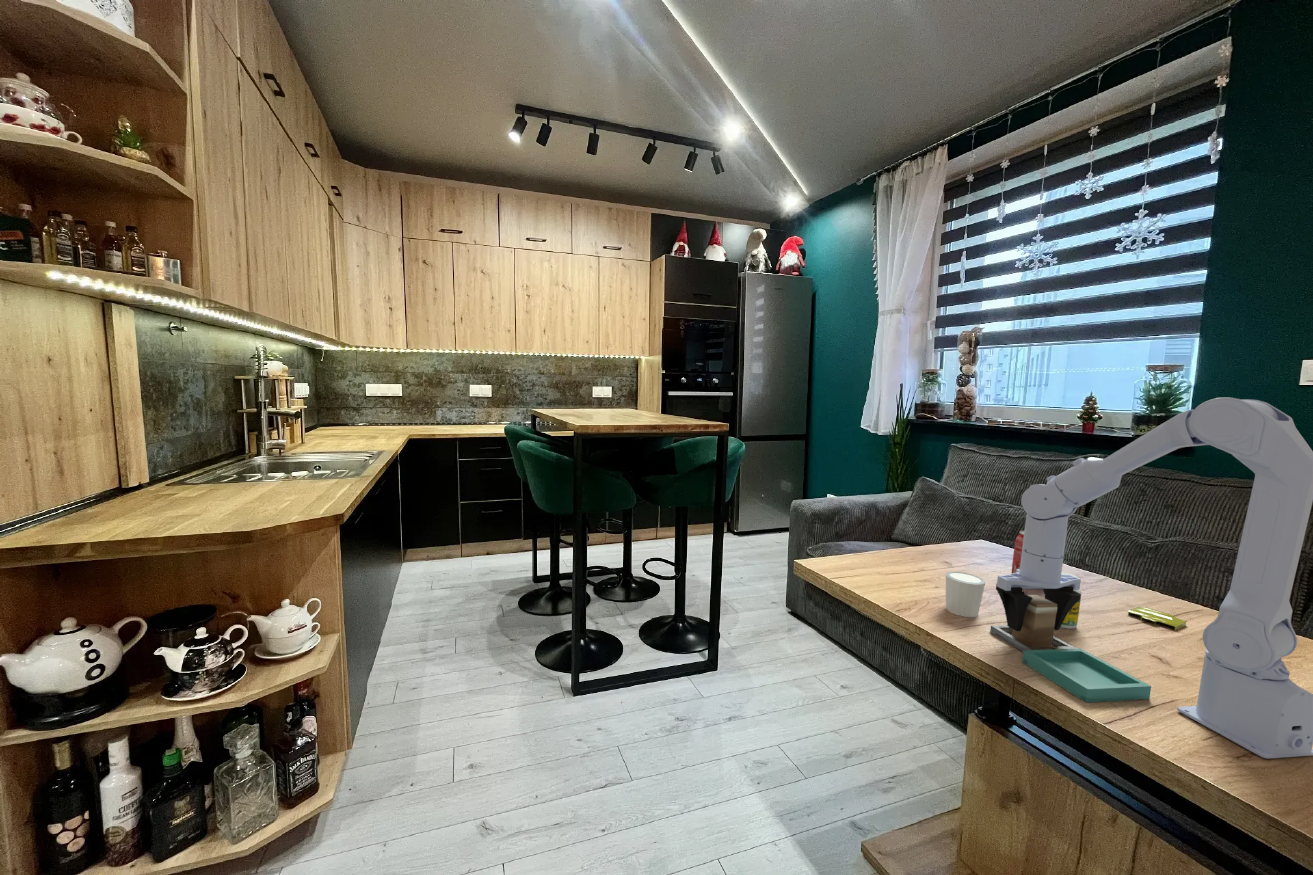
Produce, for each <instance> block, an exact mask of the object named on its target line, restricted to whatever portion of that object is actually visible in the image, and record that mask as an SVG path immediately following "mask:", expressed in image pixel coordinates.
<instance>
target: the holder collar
mask: <svg viewBox="0 0 1313 875" xmlns="http://www.w3.org/2000/svg"><path fill="white" fill-rule="evenodd" d="M989 631H990V633H991V634H993V635H995V636H996V637H998V638H1000V639H1001V640H1003V641H1004V642H1006V643H1008V644H1009V645H1011V646H1013V647H1014V648H1016V649H1018V650H1019V651H1021V652H1022V653H1024V650H1049V649H1078V648H1077V647H1075V646H1073V645H1072V644H1069V643H1067V642H1066V641H1063V640H1062V639H1060V638H1058V637H1056V636H1055V635H1053V642H1052V647H1030V646H1029V645H1027V644H1025V643H1024V642H1022V641H1020V640H1019V639H1017V638H1015V637H1013V636H1012V632H1013V629H1012V628H1010V627H1008V625H1007V624H1004V625H1003V624H1002V625H999V624H998V625H990V630H989Z"/></svg>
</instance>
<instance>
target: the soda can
mask: <svg viewBox="0 0 1313 875" xmlns="http://www.w3.org/2000/svg"><path fill="white" fill-rule="evenodd" d="M1023 538H1024V530H1020V531H1019V534H1018V535H1017V536H1016V537H1015V540H1014V547H1013V554H1012V555H1013V556H1012V564H1011V574H1013V573H1016V569H1020V564H1021V555H1022V547H1023Z"/></svg>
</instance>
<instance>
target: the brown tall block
mask: <svg viewBox="0 0 1313 875" xmlns="http://www.w3.org/2000/svg"><path fill="white" fill-rule="evenodd" d="M1027 595H1028V596H1030V597H1032V598H1033V599H1032V600H1031V602H1030V603H1029V605H1028V607H1027V609H1026V612H1025V615H1024V620H1023V626H1022V629H1021V631H1015V630H1014V629H1013V632H1012V634H1011V635H1012V636H1013V637H1015V638H1017V639H1019V640H1020V641H1022V642H1024V643H1025V644H1027V645H1029V646H1030V647H1053V645H1052V642H1053V636H1054V635H1055V634H1054V633H1055V630H1054V626H1055V619H1056V613H1057V604H1055V603H1053V602H1051V601H1049V600H1047V599H1045V597H1042V596H1040V595H1038V594H1027Z"/></svg>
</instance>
